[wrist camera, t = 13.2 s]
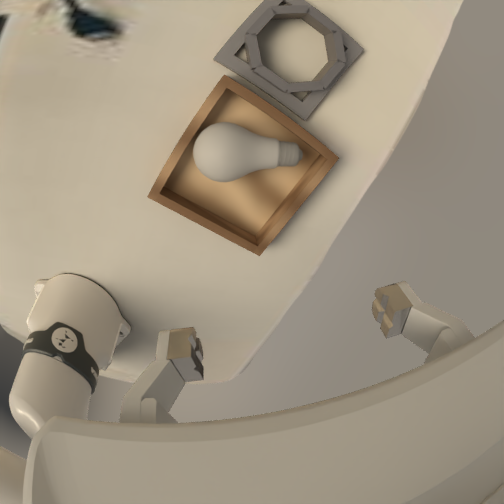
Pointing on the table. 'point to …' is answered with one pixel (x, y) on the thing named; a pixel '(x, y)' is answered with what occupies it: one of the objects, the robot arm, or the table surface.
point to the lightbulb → (240, 152)
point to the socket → (271, 81)
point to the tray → (249, 186)
